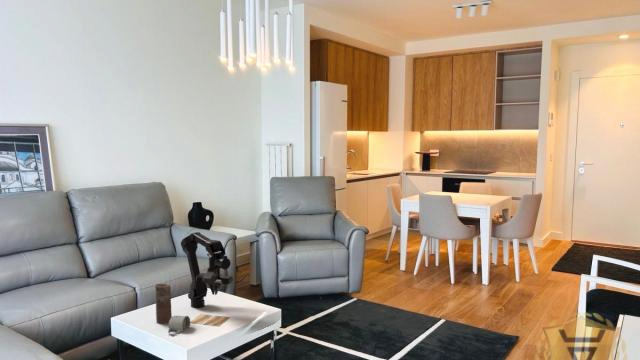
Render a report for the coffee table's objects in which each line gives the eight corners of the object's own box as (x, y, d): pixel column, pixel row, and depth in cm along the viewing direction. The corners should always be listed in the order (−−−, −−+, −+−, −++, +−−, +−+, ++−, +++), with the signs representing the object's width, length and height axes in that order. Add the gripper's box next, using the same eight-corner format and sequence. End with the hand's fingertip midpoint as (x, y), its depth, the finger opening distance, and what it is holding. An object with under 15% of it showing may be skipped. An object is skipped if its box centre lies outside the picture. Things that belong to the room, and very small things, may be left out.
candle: (155, 322, 240) (154, 283, 239) (170, 319, 243) (170, 281, 242) (157, 327, 233) (156, 287, 232) (172, 325, 236) (171, 285, 235)
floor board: (202, 327, 234) (202, 324, 234) (215, 317, 246) (215, 315, 246) (219, 328, 231) (219, 326, 231) (231, 319, 244) (231, 317, 244)
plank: (189, 324, 236) (189, 321, 236) (201, 315, 248) (201, 313, 248) (201, 326, 235) (201, 324, 234) (213, 317, 246) (213, 315, 246)
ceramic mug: (176, 327, 233) (175, 312, 233) (191, 329, 231) (190, 313, 231) (163, 336, 223) (163, 320, 222) (179, 338, 221) (178, 322, 220)
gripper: (190, 267, 241) (190, 297, 242) (223, 271, 236) (223, 301, 237) (201, 262, 252) (201, 290, 253) (233, 265, 246) (233, 294, 248)
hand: (214, 294), depth 247 cm, fingers closed
